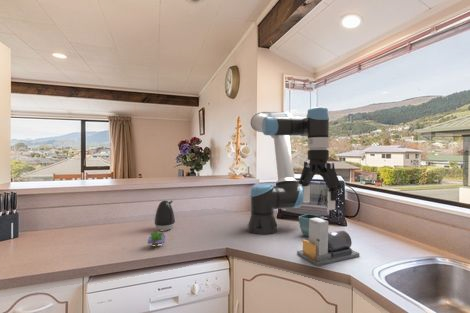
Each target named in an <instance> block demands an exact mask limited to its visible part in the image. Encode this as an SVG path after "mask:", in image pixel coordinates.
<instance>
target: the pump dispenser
mask: <svg viewBox="0 0 470 313" xmlns="http://www.w3.org/2000/svg"><path fill="white" fill-rule="evenodd" d="M172 203H173V200H170V201H168V200H161V201H160V202H159V204H158V206H157V209H156V211H155V215H154V225H155V228H156V229H157V230H158V231H160V230H168V231H170V230H172V229H173V227H174V225H175V223H176V219H175V218H176V217H175V213H174V209H173V206H172ZM171 228H172V229H171ZM169 229H170V230H169Z"/></svg>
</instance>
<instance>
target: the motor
mask: <svg viewBox="0 0 470 313" xmlns="http://www.w3.org/2000/svg"><path fill="white" fill-rule="evenodd" d="M351 247H352V238H351V236H350V234H349V233H348V232H347V231H345V230H337V231H331V232H328V253H327V254H325V255H317V254H316V245H315V244H313V243H311V242H309V240H307V239H302V249H301V250H297V251H296V254H297V255H298V256H300V257H301V258H303V259H305V260H306V261H308V262H309V263H311V264H312V265H314V266H316V267H318V266H323V265H328V264H332V263H337V262H340V261H345V260H350V259H355V258H358V257H360V252H358V251H355V250H353V249H352V248H351Z"/></svg>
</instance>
